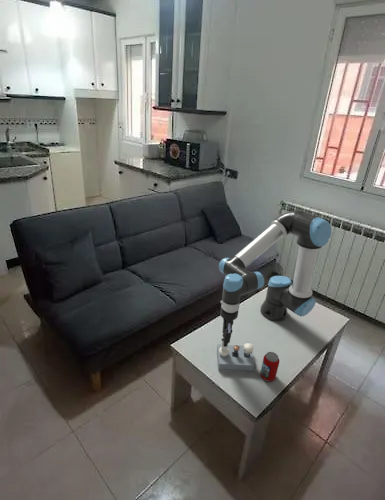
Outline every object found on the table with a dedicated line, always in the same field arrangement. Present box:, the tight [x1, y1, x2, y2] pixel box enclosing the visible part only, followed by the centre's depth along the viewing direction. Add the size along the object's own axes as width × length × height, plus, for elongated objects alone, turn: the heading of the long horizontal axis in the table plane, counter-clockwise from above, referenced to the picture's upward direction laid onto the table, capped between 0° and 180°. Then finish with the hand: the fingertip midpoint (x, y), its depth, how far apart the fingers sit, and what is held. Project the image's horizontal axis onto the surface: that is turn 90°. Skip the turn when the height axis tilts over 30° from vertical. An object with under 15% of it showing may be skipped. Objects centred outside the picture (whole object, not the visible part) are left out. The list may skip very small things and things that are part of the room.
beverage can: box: [260, 351, 280, 382], centre depth 135 cm, size 7×7×12 cm
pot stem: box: [233, 344, 240, 355], centre depth 142 cm, size 3×3×4 cm
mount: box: [216, 344, 256, 373], centre depth 144 cm, size 16×12×4 cm
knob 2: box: [243, 342, 255, 356], centre depth 142 cm, size 4×4×5 cm
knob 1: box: [219, 347, 229, 357], centre depth 143 cm, size 4×4×5 cm
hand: (224, 349), depth 142 cm, fingers closed
